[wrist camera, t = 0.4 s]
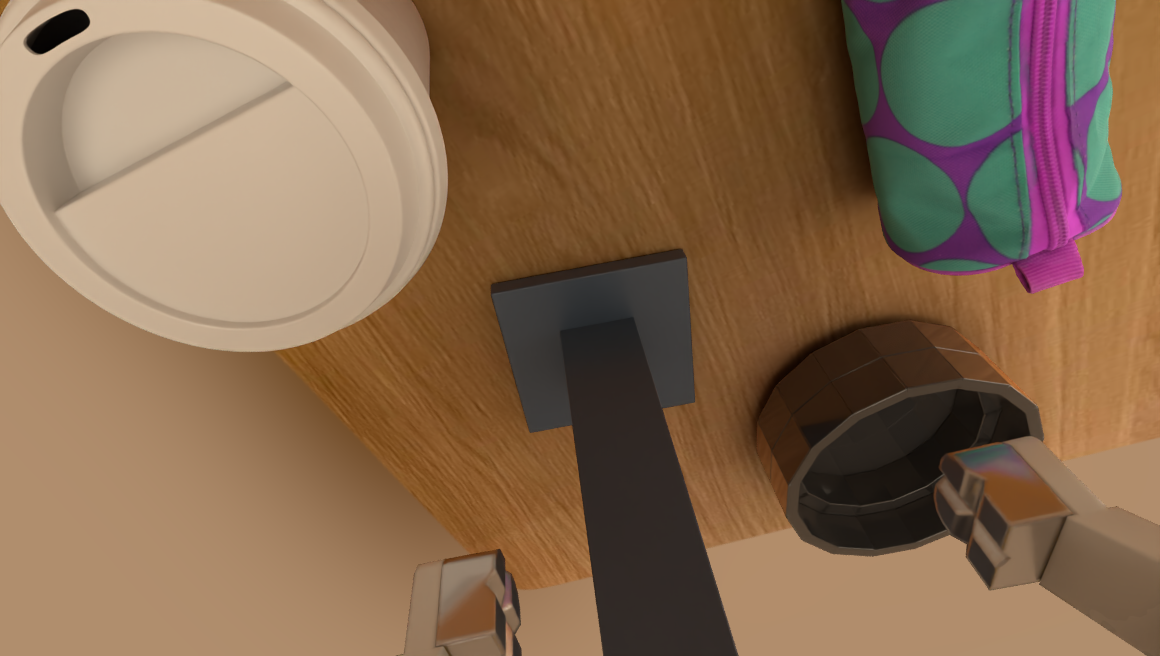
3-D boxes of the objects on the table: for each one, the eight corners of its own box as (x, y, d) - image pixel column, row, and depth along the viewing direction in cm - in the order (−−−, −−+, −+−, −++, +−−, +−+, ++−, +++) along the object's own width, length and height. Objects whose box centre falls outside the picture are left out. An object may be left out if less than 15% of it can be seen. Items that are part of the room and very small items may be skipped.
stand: (691, 391, 38) (929, 1024, 17) (529, 421, 38) (566, 1090, 17) (682, 248, 32) (1028, 942, 11) (490, 283, 32) (475, 1043, 11)
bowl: (950, 461, 45) (1006, 532, 40) (751, 498, 45) (782, 573, 40) (1000, 293, 36) (1078, 357, 31) (753, 338, 36) (793, 410, 31)
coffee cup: (449, -102, 23) (393, -82, 11) (481, 155, 28) (468, 361, 16) (175, -92, 22) (-220, -58, 10) (263, 169, 28) (78, 395, 16)
